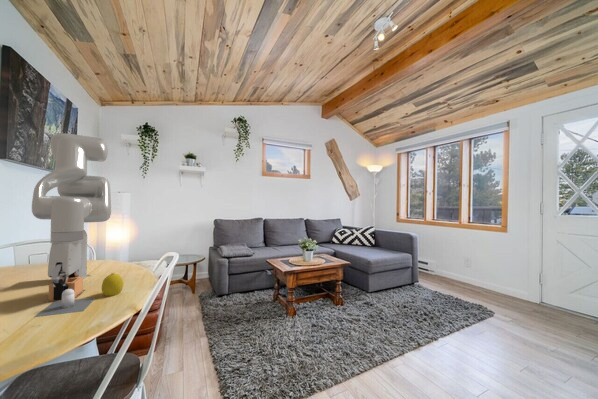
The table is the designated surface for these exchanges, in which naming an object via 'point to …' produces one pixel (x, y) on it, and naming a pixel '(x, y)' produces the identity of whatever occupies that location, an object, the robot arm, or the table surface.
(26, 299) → the table surface
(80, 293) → the stand
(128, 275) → the table surface
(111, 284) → the lemon
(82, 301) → the plate
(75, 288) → the collar
